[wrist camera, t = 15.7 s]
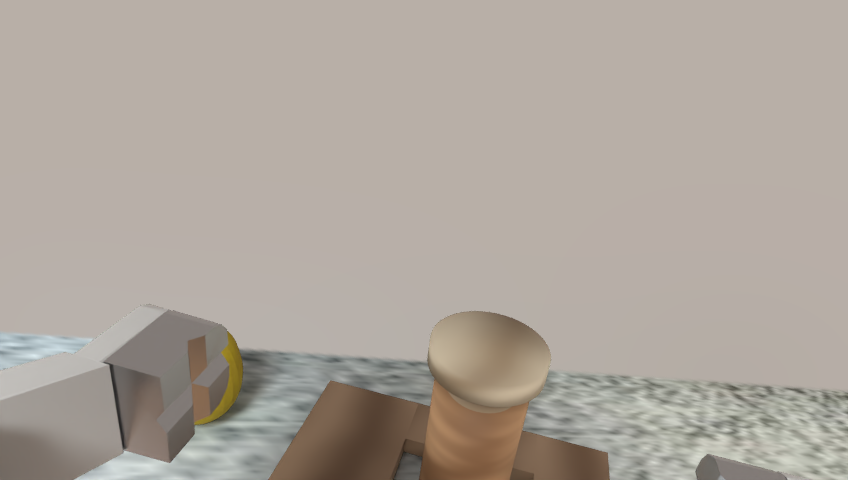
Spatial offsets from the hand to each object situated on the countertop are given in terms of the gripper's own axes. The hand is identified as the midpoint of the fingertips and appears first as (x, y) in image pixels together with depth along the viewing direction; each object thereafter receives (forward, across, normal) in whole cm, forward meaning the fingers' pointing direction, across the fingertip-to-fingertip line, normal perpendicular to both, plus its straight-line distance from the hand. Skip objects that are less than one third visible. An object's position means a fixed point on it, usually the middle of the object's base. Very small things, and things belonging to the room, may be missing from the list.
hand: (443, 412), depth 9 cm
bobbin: (+15, -1, +22) cm, 27 cm away
